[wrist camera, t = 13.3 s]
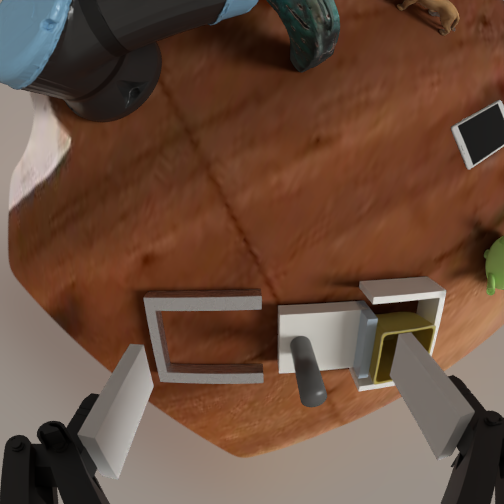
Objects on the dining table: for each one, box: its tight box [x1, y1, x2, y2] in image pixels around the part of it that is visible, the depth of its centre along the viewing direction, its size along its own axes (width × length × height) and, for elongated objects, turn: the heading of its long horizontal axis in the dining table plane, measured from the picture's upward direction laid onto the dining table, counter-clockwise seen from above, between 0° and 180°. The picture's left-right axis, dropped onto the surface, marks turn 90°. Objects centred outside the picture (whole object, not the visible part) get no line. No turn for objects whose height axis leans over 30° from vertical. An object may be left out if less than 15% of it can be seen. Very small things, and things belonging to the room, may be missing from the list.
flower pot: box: [369, 312, 436, 385], centre depth 42 cm, size 9×9×9 cm
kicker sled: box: [278, 301, 378, 407], centre depth 39 cm, size 13×10×15 cm
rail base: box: [144, 289, 263, 384], centre depth 45 cm, size 16×15×2 cm
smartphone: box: [451, 100, 504, 170], centre depth 38 cm, size 8×1×15 cm
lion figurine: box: [397, 0, 459, 35], centre depth 28 cm, size 15×5×9 cm, turn 79°
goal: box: [349, 277, 446, 391], centre depth 44 cm, size 12×16×6 cm
